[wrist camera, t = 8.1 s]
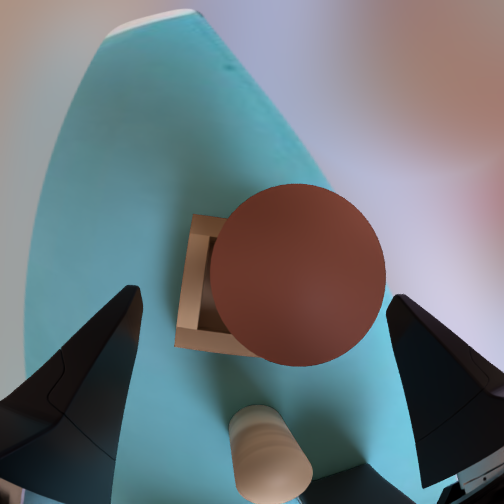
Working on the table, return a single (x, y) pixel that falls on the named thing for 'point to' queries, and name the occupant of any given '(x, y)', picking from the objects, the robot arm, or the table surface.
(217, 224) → the light brown square frame
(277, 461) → the short pin
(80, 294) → the table surface
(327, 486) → the battery charger
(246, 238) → the long pin
